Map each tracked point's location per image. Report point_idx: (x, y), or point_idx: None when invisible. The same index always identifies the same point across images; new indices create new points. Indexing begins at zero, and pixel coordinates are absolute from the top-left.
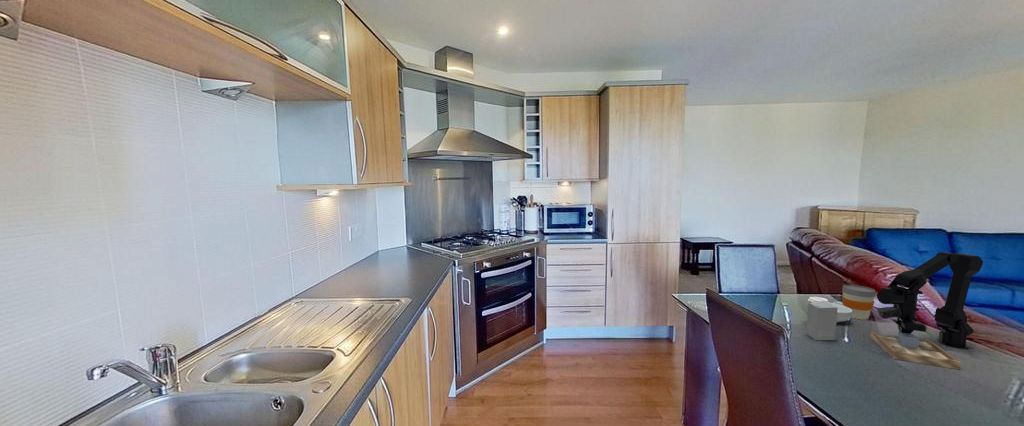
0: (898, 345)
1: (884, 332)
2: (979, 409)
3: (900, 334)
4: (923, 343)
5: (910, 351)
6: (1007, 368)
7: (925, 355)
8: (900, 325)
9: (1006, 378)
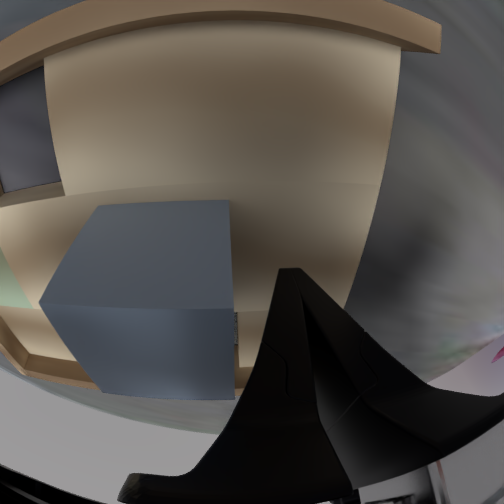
0: (109, 177)
1: (493, 216)
2: None
3: (137, 298)
4: None
5: (21, 232)
6: (180, 425)
7: (22, 292)
8: (124, 492)
9: (79, 399)
